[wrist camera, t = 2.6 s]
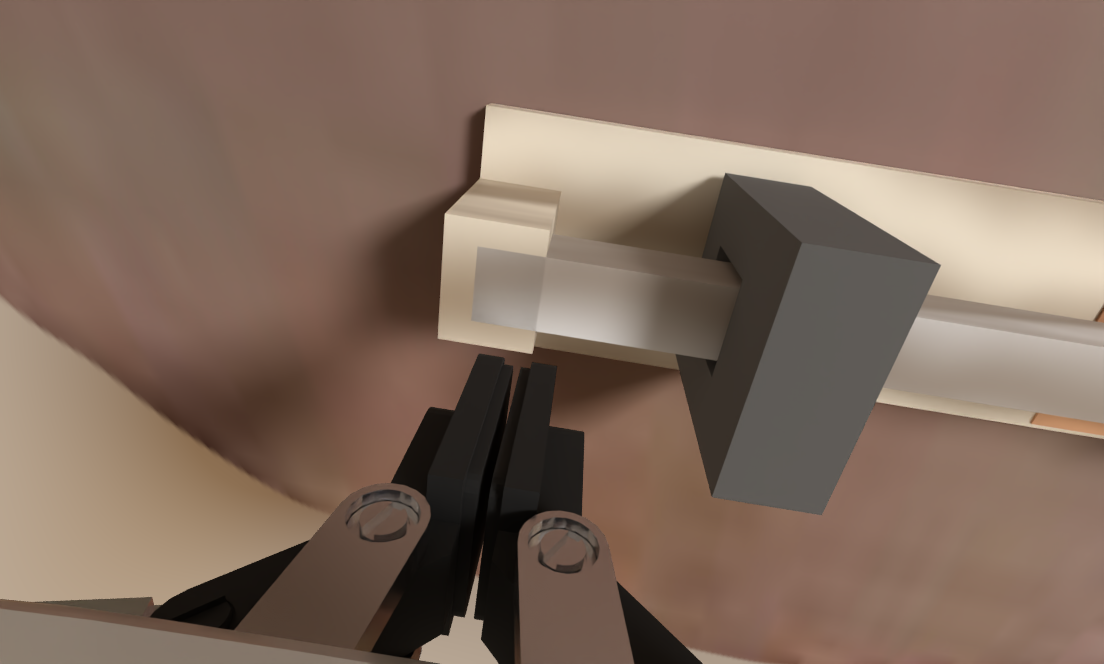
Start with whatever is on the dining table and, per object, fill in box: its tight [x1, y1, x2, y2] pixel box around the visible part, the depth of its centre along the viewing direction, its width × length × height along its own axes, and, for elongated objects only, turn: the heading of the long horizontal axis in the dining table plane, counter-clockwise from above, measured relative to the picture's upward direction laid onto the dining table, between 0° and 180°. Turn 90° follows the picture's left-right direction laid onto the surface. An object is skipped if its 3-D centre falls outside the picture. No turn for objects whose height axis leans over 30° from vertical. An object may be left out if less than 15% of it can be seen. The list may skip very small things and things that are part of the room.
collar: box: [675, 173, 941, 515], centre depth 17 cm, size 7×3×8 cm, turn 172°
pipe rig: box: [438, 103, 1104, 439], centre depth 19 cm, size 9×34×6 cm, turn 82°
